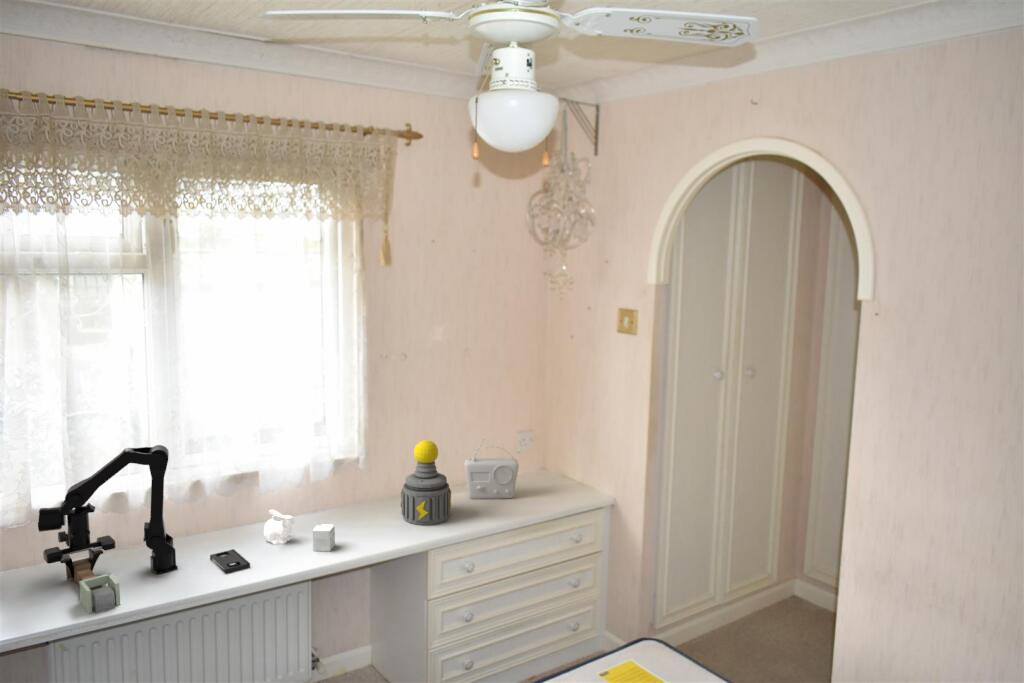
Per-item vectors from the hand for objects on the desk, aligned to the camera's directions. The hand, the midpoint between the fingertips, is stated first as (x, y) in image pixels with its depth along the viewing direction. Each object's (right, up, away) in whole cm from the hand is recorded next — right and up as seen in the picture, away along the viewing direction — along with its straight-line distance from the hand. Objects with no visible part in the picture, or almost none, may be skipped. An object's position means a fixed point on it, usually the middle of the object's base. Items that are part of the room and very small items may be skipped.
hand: (81, 575), depth 242 cm
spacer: (+14, -1, -16) cm, 21 cm away
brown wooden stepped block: (+4, -2, -5) cm, 7 cm away
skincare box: (+68, +1, +28) cm, 73 cm away
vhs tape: (+40, -1, +14) cm, 43 cm away
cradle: (+13, -4, -14) cm, 19 cm away
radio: (+124, +8, +82) cm, 148 cm away
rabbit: (+51, +2, +33) cm, 61 cm away
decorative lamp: (+99, +5, +58) cm, 115 cm away
